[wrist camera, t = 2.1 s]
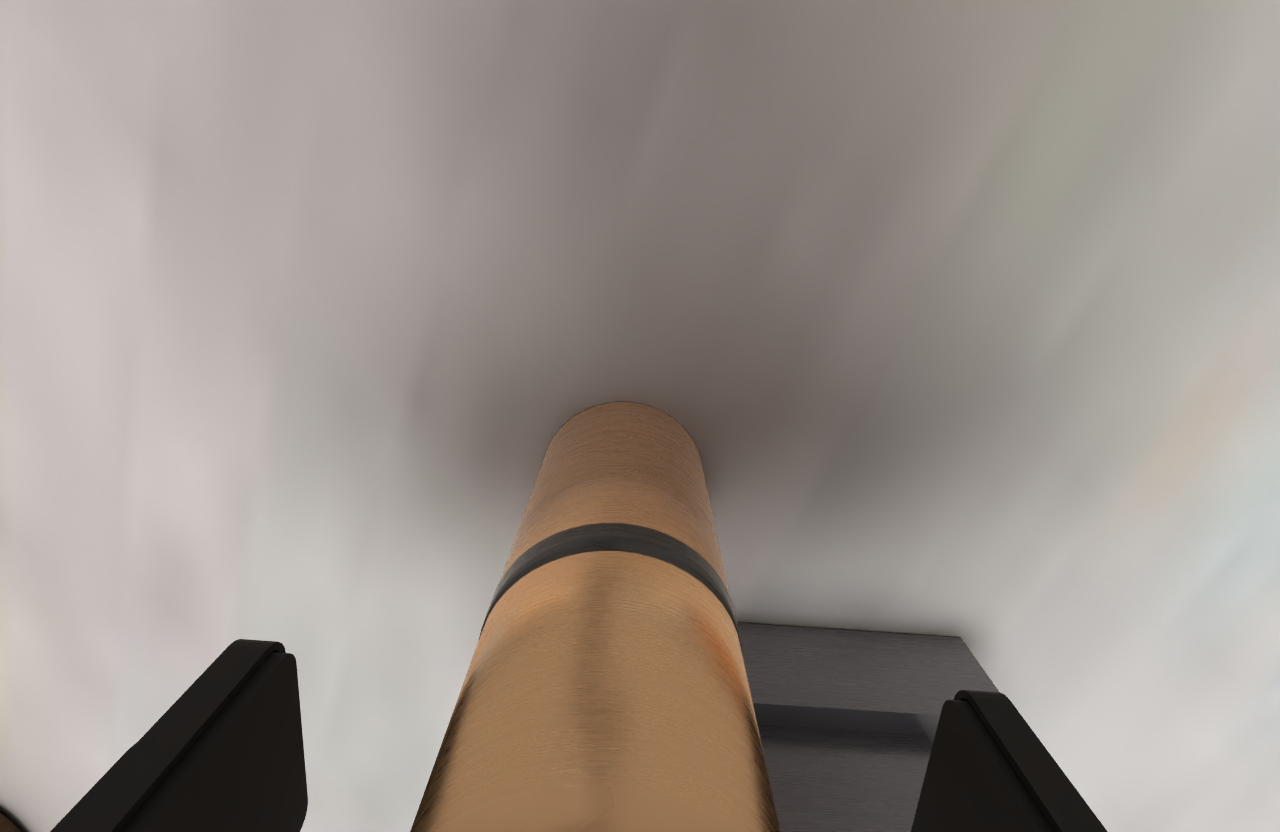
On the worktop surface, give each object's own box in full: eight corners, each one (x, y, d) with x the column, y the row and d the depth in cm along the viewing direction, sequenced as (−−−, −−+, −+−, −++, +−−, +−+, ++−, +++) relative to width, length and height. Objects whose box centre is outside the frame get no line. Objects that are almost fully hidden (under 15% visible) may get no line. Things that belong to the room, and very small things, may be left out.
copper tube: (544, 394, 16) (370, 769, 6) (712, 406, 16) (835, 799, 6) (539, 543, 18) (389, 1067, 7) (694, 554, 18) (771, 1089, 7)
